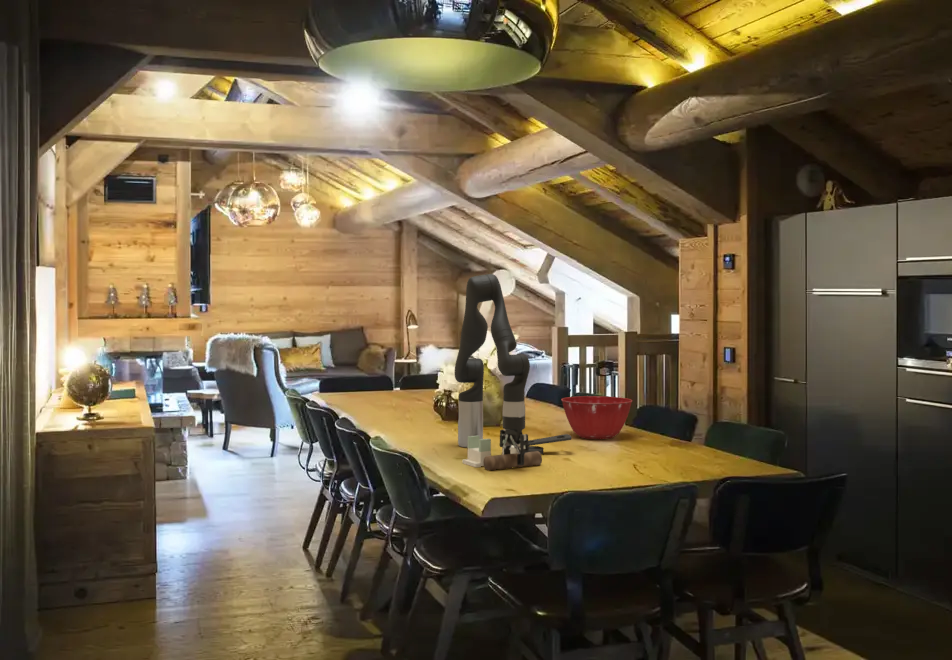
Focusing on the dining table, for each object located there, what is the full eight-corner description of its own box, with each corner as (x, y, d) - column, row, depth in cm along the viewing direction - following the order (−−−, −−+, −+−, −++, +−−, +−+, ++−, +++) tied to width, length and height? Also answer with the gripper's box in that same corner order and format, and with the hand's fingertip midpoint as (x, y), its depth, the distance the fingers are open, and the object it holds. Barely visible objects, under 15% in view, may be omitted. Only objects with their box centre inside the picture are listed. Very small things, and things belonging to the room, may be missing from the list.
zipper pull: (573, 437, 330) (503, 438, 328) (573, 455, 330) (503, 456, 328) (568, 433, 339) (501, 434, 337) (568, 451, 339) (501, 452, 337)
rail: (491, 470, 300) (489, 455, 301) (484, 471, 304) (482, 456, 305) (542, 464, 310) (541, 450, 311) (535, 465, 314) (533, 451, 315)
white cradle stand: (475, 467, 307) (475, 440, 307) (462, 463, 315) (462, 436, 314) (530, 461, 318) (530, 435, 318) (516, 457, 326) (516, 432, 325)
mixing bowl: (561, 431, 388) (561, 394, 387) (629, 432, 385) (629, 395, 385) (560, 442, 360) (561, 402, 359) (634, 443, 357) (635, 403, 356)
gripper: (493, 412, 310) (493, 460, 311) (515, 417, 298) (515, 467, 299) (512, 411, 314) (512, 458, 315) (535, 416, 302) (535, 465, 302)
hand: (513, 462), depth 307 cm, fingers open, 8 cm apart
